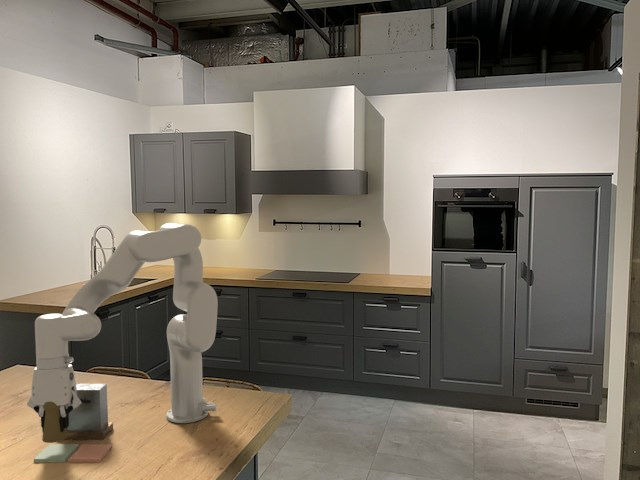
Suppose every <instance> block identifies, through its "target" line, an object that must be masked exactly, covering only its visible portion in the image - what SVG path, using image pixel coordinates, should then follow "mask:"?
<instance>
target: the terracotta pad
mask: <svg viewBox="0 0 640 480" xmlns="http://www.w3.org/2000/svg"><path fill="white" fill-rule="evenodd" d="M112 446H113V445H112V444H111V443H109V444H106V443H105V444H102V443H101V444H97V443H96V444H89V443H88V444H81V445H79V448H78V449H77V450H76V451H75V452H74V453H73V454H72V455H71V456H70V457H69V458H68V463H87V462H88V463H94V462H95V463H100V462H101V461H102V460H103V458H105V457H106V455H107V454H108V452H109V451H110V450H111V449H112Z"/></svg>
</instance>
